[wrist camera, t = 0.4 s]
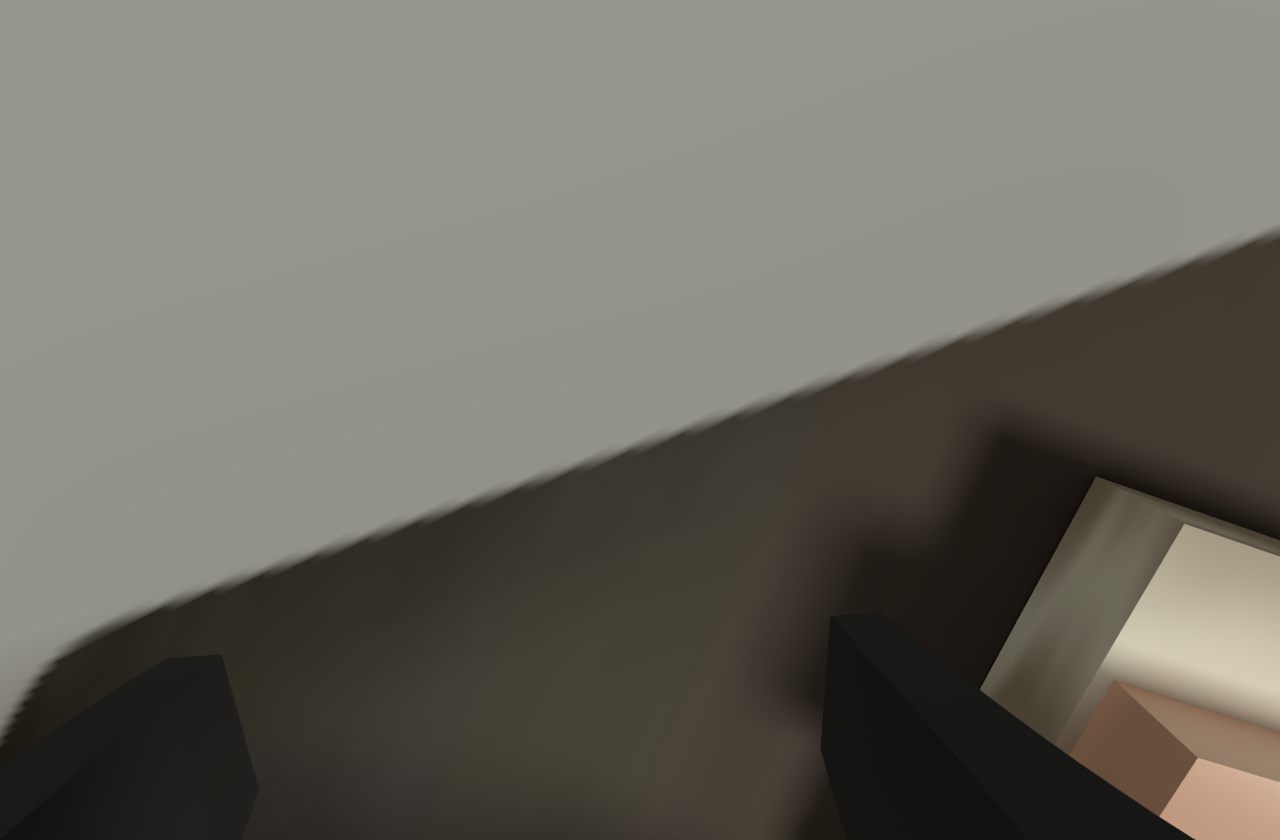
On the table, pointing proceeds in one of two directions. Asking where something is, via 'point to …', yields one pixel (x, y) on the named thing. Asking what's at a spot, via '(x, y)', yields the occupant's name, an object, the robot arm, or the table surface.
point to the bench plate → (1145, 617)
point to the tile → (1186, 763)
